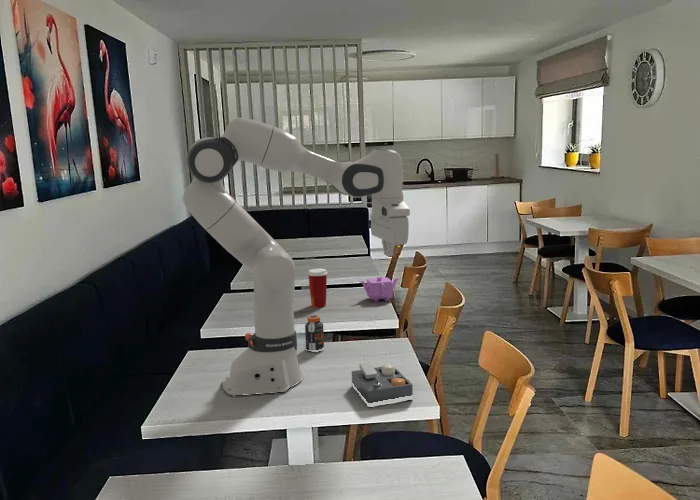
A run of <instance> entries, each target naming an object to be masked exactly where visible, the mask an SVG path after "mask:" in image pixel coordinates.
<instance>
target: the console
mask: <svg viewBox="0 0 700 500" xmlns="http://www.w3.org/2000/svg"><path fill="white" fill-rule="evenodd" d="M374 369H375V370H376V372H377V375H376V378H370V379H366V377H365V375H364V374H363V372H362V371H361V369H358V370H351V384H352V383H353V384H354V386H355V387H356V388H357V390H358V391H359V392H360V393H361V395H362V396H363V397H364V398H365V399H366V401H367V402H368V403H373V402H378V401H383V400H388V399H395V398H399V397H405V396H411V395H413V383H412V382H411V381H409V379H407V377H405V376H404V374H403V373H401V371H399V370H398V369H397V368H396V367H395V375H390V376H383V375H382V366H379V367H378V366H377V367H374ZM394 378H402V379H404V380H405V385H400V386H393V385H392V384H391V380H392V379H394Z"/></svg>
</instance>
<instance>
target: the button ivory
mask: <svg viewBox="0 0 700 500" xmlns="http://www.w3.org/2000/svg"><path fill="white" fill-rule="evenodd" d="M381 367H382V375H383V376H390V375H395V368H396V366H395V365H394V364H392V363H385V364H382V365H381Z"/></svg>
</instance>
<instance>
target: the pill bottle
mask: <svg viewBox="0 0 700 500" xmlns="http://www.w3.org/2000/svg"><path fill="white" fill-rule="evenodd" d="M304 329H305V330H304V334H305V350H306V349H307V350H319V349H322V348H323V347H324V348H325V335H324V324H323V322H321V316H320V315H315V314H312V315H309V316H307V322H306V323H305V324H304ZM307 350H306V351H307Z"/></svg>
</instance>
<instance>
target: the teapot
mask: <svg viewBox="0 0 700 500" xmlns="http://www.w3.org/2000/svg"><path fill="white" fill-rule="evenodd" d="M398 280H400V277H396V278H394V279H393V280H391V279H390V278H389V277H382V276H377V277H376V278H366V282H365V281H363V280H360V281H358V282H359V283H361V284H362V286H363V289H364V291H365V293H366V296H367V297H368V298H369V299H370V300H371V301H373V302H374V303H377V302H379V300H384V302H387V301H388V300H389V301H390V299H394V297H393V296H394V295H393V294H394V293H393V291H394V290H395V287H396V284H397V281H398ZM389 301H388V302H389Z"/></svg>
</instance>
